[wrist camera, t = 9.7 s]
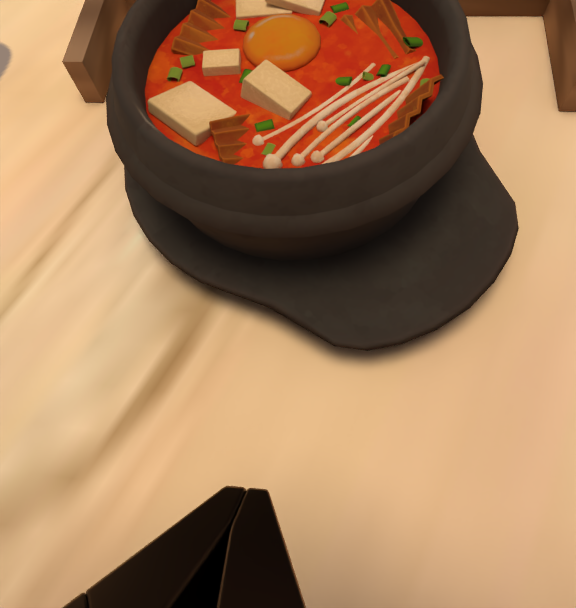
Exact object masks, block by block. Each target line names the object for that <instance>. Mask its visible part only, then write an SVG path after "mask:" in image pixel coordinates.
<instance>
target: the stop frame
mask: <svg viewBox="0 0 576 608" xmlns="http://www.w3.org/2000/svg"><path fill="white" fill-rule="evenodd" d="M458 1H459V3H460V5H461V7H462V9H463V11H464V14H465V16H543V18H544V24H545V30H546V36H547V42H548V48H549V54H550V60H551V66H552V72H553V78H554V84H555V90H556V96H557V102H558V108H559V111H576V0H458ZM135 2H136V0H85V2H84V5H83V8H82V10H81V13H80V16H79V18H78V21H77V24H76V26H75V29H74V32H73V34H72V37H71V40H70V43H69V45H68V48H67V51H66V53H65V56H64V59H63V61H62V62H63V64H64V65H65V67H66V69H67V71H68V72H69V74H70V76H71V78H72V79H73V81H74V83H75V85H76V86H77V88H78V90H79V92H80V93H81V95H82V97H83V99H84V100H85V102H104V100H105V97H106V93H107V90H108V87H109V83H110V78H111V74H112V53H113V49H114V44H115V40H116V35H117V32H118V30H119V28H120V26H121V24H122V22H123V20H124V18H125V16H126V14H127V12H128V10H129V9H130V8H131V7H132V5H133V4H134V3H135Z"/></svg>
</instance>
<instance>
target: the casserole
mask: <svg viewBox="0 0 576 608" xmlns="http://www.w3.org/2000/svg"><path fill="white" fill-rule="evenodd" d="M482 89H483V81H482V76H481V71H480V65H479V60H478V56H477V54H476V51H475V49H474V47H473V45H472V43H471V39H470V34H469V29H468V23H467V18H466V16H465V14H464V11H463V9H462V7H461V5H460V3H459V1H458V0H136V2H135V3H134V4H133V5H132V7H131V8H130V9H129V10H128V12H127V14H126V16H125V18H124V20H123V22H122V24H121V26H120V28H119V30H118V32H117V35H116V40H115V44H114V49H113V53H112V74H111V78H110V83H109V87H108V92H107V96H106V105H107V126H108V129H109V132H110V135H111V138H112V142H113V145H114V148H115V151H116V153H117V155H118V156H119V158H120V159H121V161H122V163H123V164H124V170H125V189H126V193H127V196H128V199H129V202H130V205H131V209H132V212H133V215H134V217H135V219H136V220H137V222H138V224H139V225H140V227H141V228H142V230H143V232H144V233H145V235H146V237H147V238H148V240H149V241H150V242H151V243H152V244H153V245H154V246H155V247H156V248H157V249H158V250H159V251H160V252H161V253H162V254H163V255H164V256H165V257H166V258H167V259H168V260H169V261H170V262H171V263H172V264H173V265H175V266H176V267H178V268H179V269H181V270H183V271H184V272H186V273H187V274H189V275H190V276H192V277H193V278H195V279H197V280H198V281H200V282H202V283H205V284H207V285H210V286H213V287H215V288H218V289H221V290H223V291H226V292H229V293H231V294H234V295H237V296H239V297H242V298H245V299H248V300H250V301H253V302H256V303H259V304H261V305H264V306H267V307H269V308H271V309H273V310H275V311H276V312H278V313H280V314H281V315H283V316H285V317H286V318H288V319H290V320H292V321H293V322H295V323H297V324H298V325H300V326H302V327H303V328H305V329H307V330H309V331H310V332H312V333H314V334H315V335H317V336H319V337H320V338H322V339H324V340H325V341H327V342H329V343H331V344H332V345H334V346H339V347H346V348H353V349H360V350H367V351H368V350H373V349H379V348H384V347H389V346H395V345H400V344H403V343H406V342H408V341H411V340H413V339H416V338H418V337H420V336H423V335H425V334H428V333H430V332H432V331H435V330H437V329H439V328H440V327H442V326H443V325H445V324H446V323H448V322H449V321H451V320H452V319H454V318H455V317H457V316H458V315H460V314H461V313H463V312H464V311H466V310H467V309H469V308H470V307H471V306H472V305H473V304H474V303H475V302H476V301H477V300H478V299H479V297H480V296H481V295H482V294H483V293H484V292H485V291H486V290H487V289H488V288H489V287H490V286H491V285H492V284H493V283H494V282H495V280H496V278H497V277H498V275H499V273H500V272H501V270H502V269H503V267H504V265H505V264H506V262H507V260H508V259H509V257H510V255H511V253H512V249H513V246H514V243H515V239H516V236H517V232H518V229H519V228H518V221H517V214H516V206H515V202H514V201H513V199H512V198H511V196H510V195H509V193H508V192H507V190H506V189H505V187H504V186H503V184H502V183H501V181H500V180H499V178H498V177H497V175H496V174H495V173H494V171H493V170H492V168H491V167H490V165H489V164H488V162H487V161H486V159H485V158H484V156H483V155H482V153H481V152H480V150H479V148H478V145H477V143H476V140H475V138H474V135H473V131H474V128H475V126H476V123H477V120H478V118H479V115H480V111H481V100H482Z"/></svg>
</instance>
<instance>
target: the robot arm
mask: <svg viewBox="0 0 576 608" xmlns="http://www.w3.org/2000/svg"><path fill="white" fill-rule="evenodd" d="M63 608H306V606H305V603H304V600H303V597H302V594H301V591H300V588H299V584H298V581H297V578H296V575H295V572H294V569H293V566H292V563H291V559H290V556H289V553H288V550H287V547H286V544H285V541H284V538H283V534H282V531H281V528H280V525H279V522H278V519H277V516H276V513H275V509H274V506H273V503H272V500H271V497H270V494H269V492H268V490H266V489H256V488H249V489H247V491H246V489H245V488H244V487H235V486H226V487H224V488H222V489H221V490H220V491H218V492H217V493H216V494H214V495H213V496H212V497H210V498H209V499H208V500H206V501H205V502H204V503H202V504H201V505H200V506H198V507H197V508H196V509H194V510H193V511H192V512H190V513H189V514H188V515H186V516H185V517H184V518H182V519H181V520H180V521H178V522H177V523H176V524H174V525H173V526H172V527H170V528H169V529H168V530H166V531H165V532H164V533H162V534H161V535H160V536H158V537H157V538H156V539H154V540H153V541H152V542H150V543H149V544H148V545H146V546H145V547H144V548H142V549H141V550H140V551H138V552H137V553H136V554H134V555H133V556H132V557H130V558H129V559H128V560H126V561H125V562H124V563H122V564H121V565H120V566H118V567H117V568H116V569H114V570H113V571H112V572H110V573H109V574H108V575H106V576H105V577H104V578H102V579H101V580H100V581H98V582H97V583H96V584H94V585H93V586H92V587H90V588H89V589H88V590H87V591H86V594H85V593H81V594H80V595H79V596H77V597H76V598H75V599H73V600H72V601H71V602H69V603H68V604H67V605H65V606H64V607H63Z"/></svg>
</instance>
